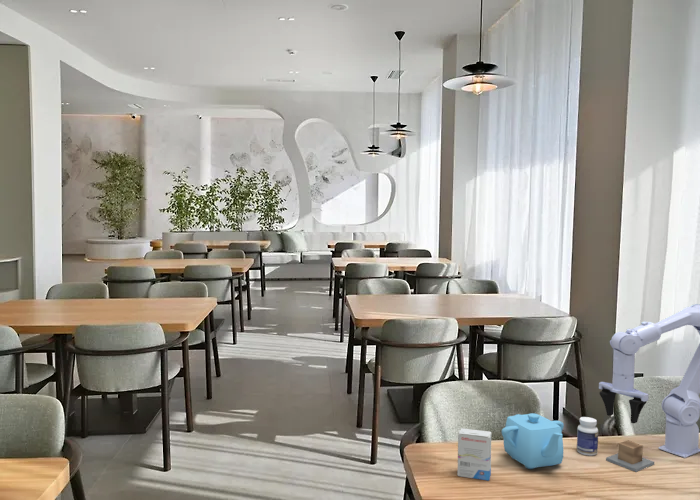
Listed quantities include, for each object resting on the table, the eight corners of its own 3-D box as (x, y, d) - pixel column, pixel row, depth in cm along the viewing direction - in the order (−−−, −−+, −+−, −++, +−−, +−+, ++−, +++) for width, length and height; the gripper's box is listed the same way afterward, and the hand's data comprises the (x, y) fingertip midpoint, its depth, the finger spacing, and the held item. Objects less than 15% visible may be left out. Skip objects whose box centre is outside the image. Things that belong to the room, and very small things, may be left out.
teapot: (493, 464, 166) (494, 417, 165) (512, 445, 179) (513, 401, 178) (561, 480, 156) (562, 431, 155) (574, 459, 169) (576, 413, 169)
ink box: (491, 473, 160) (492, 430, 159) (489, 481, 155) (490, 437, 154) (459, 468, 163) (460, 426, 162) (456, 476, 158) (457, 433, 157)
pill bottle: (599, 457, 171) (600, 423, 170) (578, 455, 172) (579, 421, 171) (595, 449, 176) (596, 416, 176) (575, 447, 178) (576, 415, 177)
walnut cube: (627, 455, 170) (628, 440, 170) (642, 461, 166) (642, 445, 166) (617, 458, 168) (618, 443, 168) (632, 464, 164) (633, 448, 164)
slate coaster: (624, 453, 173) (624, 450, 173) (654, 464, 166) (654, 461, 166) (605, 460, 168) (606, 457, 168) (635, 472, 161) (636, 469, 161)
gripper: (593, 369, 177) (591, 414, 178) (639, 381, 165) (637, 428, 166) (607, 366, 181) (605, 409, 182) (653, 377, 169) (651, 424, 170)
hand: (621, 418), depth 174 cm, fingers open, 7 cm apart
